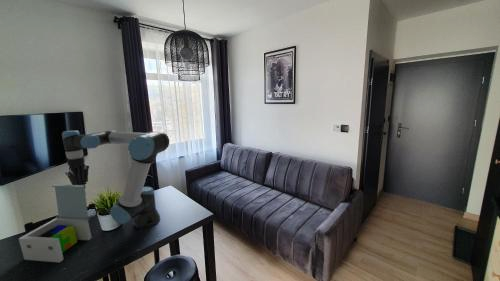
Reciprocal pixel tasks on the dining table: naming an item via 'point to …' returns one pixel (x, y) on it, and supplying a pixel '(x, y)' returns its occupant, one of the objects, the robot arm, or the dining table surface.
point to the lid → (71, 201)
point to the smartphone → (91, 212)
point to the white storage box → (51, 240)
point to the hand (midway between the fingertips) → (82, 195)
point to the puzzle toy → (62, 236)
